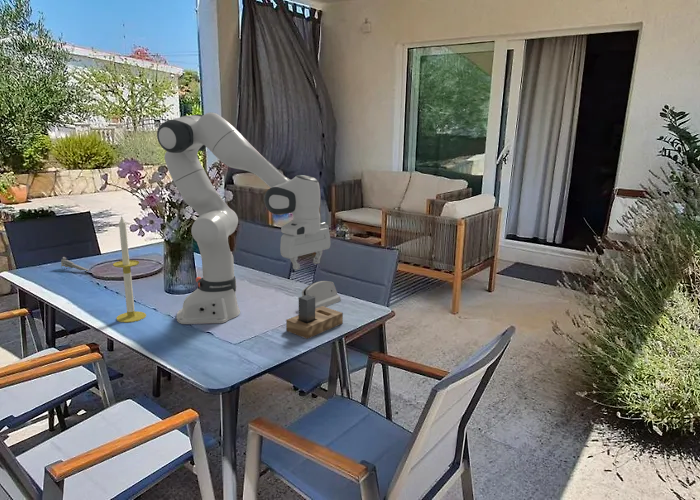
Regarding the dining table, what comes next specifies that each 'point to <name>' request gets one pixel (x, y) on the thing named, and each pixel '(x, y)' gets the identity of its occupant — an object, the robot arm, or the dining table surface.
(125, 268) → the candle
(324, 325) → the socket block
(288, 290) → the dining table surface
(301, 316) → the steel peg
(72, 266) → the caliper
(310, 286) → the grey piece
